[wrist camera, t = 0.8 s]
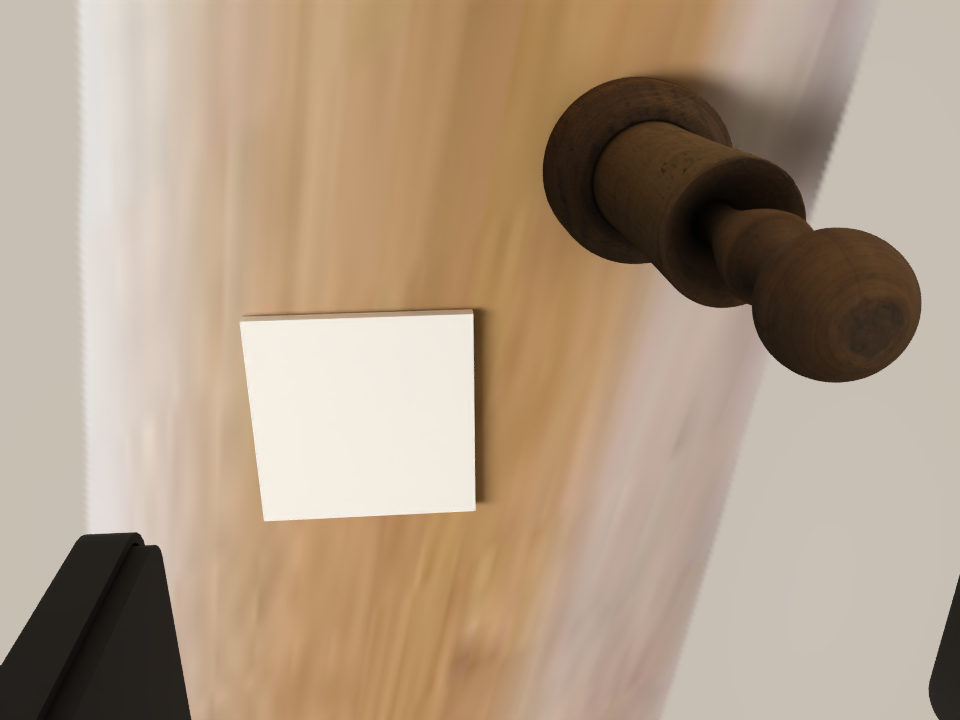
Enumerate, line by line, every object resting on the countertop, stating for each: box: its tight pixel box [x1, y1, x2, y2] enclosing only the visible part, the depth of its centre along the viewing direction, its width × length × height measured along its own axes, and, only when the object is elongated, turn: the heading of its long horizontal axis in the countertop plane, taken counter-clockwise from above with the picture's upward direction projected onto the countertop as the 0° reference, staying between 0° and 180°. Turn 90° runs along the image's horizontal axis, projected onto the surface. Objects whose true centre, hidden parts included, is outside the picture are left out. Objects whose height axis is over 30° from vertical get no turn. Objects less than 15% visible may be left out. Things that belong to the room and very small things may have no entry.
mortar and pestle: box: [543, 77, 921, 383], centre depth 23 cm, size 7×6×18 cm
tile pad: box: [240, 309, 475, 521], centre depth 34 cm, size 9×9×1 cm
